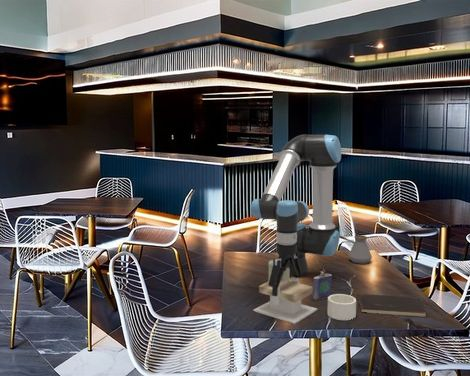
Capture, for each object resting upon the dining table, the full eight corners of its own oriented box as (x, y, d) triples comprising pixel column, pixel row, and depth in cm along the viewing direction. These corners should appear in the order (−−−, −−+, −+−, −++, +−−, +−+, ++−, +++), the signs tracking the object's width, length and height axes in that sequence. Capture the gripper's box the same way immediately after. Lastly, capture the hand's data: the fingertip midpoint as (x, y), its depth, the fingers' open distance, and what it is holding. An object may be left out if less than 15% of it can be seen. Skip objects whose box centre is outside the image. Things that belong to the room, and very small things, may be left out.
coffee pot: (368, 258, 245) (369, 230, 243) (374, 265, 234) (375, 235, 231) (327, 257, 246) (328, 229, 244) (330, 264, 234) (331, 235, 232)
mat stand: (253, 311, 177) (253, 293, 176) (277, 298, 189) (277, 282, 188) (294, 324, 165) (294, 305, 164) (317, 310, 178) (317, 292, 177)
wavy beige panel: (258, 292, 177) (258, 285, 176) (276, 283, 186) (277, 277, 185) (295, 302, 167) (295, 295, 166) (312, 293, 176) (312, 286, 175)
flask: (315, 300, 187) (316, 274, 186) (310, 298, 190) (311, 272, 188) (333, 296, 192) (333, 270, 190) (328, 294, 194) (328, 268, 193)
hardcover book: (426, 318, 172) (426, 312, 171) (361, 314, 175) (361, 308, 175) (416, 302, 187) (417, 296, 187) (357, 298, 191) (357, 293, 191)
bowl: (322, 315, 173) (323, 299, 172) (335, 307, 181) (335, 292, 180) (347, 322, 167) (348, 306, 166) (359, 313, 174) (360, 298, 174)
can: (283, 294, 194) (284, 266, 192) (264, 289, 199) (264, 262, 197) (293, 287, 202) (293, 260, 200) (274, 283, 207) (274, 257, 205)
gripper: (276, 251, 162) (275, 311, 165) (312, 238, 180) (310, 292, 184) (258, 247, 166) (258, 306, 170) (295, 235, 185) (294, 287, 188)
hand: (285, 298), depth 177 cm, fingers closed on wavy beige panel, 12 cm apart
